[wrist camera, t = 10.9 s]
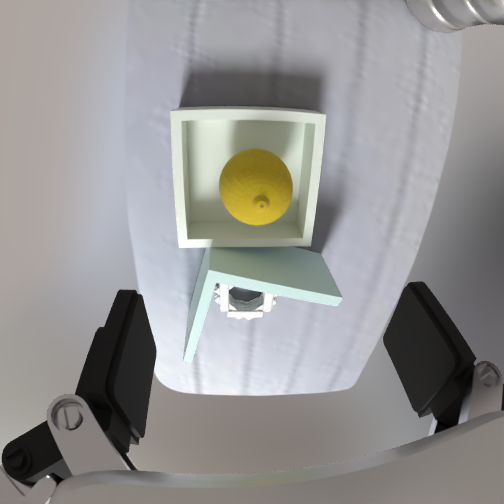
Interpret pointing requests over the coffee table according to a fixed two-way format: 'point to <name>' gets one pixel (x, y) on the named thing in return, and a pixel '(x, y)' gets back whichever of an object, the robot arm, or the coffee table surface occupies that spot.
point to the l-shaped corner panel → (256, 283)
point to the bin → (224, 148)
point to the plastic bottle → (456, 13)
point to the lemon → (256, 187)
